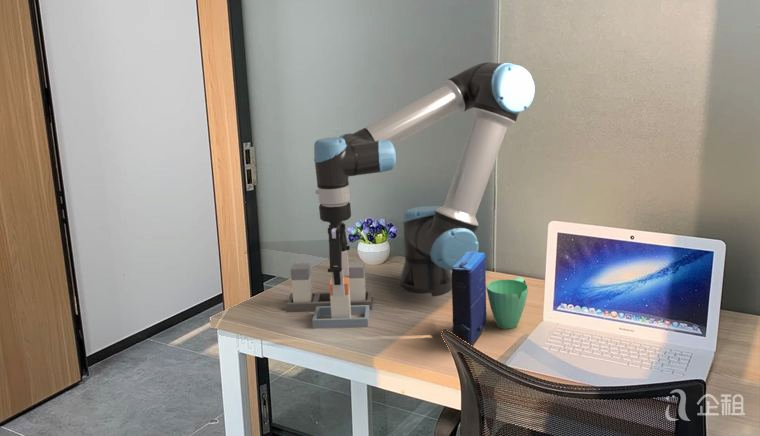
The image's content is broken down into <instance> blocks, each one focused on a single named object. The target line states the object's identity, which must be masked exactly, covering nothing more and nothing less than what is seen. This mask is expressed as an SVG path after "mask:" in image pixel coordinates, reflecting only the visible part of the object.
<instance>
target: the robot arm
mask: <svg viewBox="0 0 760 436" xmlns="http://www.w3.org/2000/svg"><path fill="white" fill-rule="evenodd" d="M535 87H536V85H535V82H534V80H533V76H532V75H531V73H530V72H529V71H528V69H526V68H525V67H523V66H522V65H518V64H514V63H510V62H505V63H502V62H499V63H498V62H488V61H487V62H481V63H478V64H475V65H473V66H471V67H469V68H467V69H464V70H463V71H461V72H459V73H457V74H455V75H454V76H452V77H450V78H448V79H446V80H445V81H444V82H443V85H442V86H441V87H439V88H438V89H436V90H433V91H432V92H430V93H428V94H426V95H424V96H422V97H420V98H419V99H417V100H415V101H413V102H411V103H409V104H406V105H405V106H403V107H401V108H399V109H397V110H396V111H394V112H392V113H390V114H388V115H386V116H384V117H382V118H381V119H379V120H376V121H375V122H373V123H371V124H369V125H367V126H365V127H364V128H361V129H359V130H357V131H355V132H353V133H352V132H351V133H350V132H349V133H343V134H341V135H340V136H338V137H336V136H334V137H324V138H320V139H318V140H317V139H316V140H315V142H314V144H313V150H314V151H313V154H314V156H313V157H314V159H313V161H314V166H315V167H314V168H315V176H316V184H317V186H316V187H317V190H315V192H314V194H315V195H318V204H319V203H320V204H319V206H318V210H319V219H320V220H321V221H322V222H325V223H326V222H327V223H329V225H328V228H327V234H328V248H329V249H328V250H329V268H327V272H328V273H330V275H331V278H332V288H333V297H344V296H345V291H344V279H343V277H346V276H349V267H348V262H349V258H348V251H350V248H351V247H350V245H348V239H347V232H346V224H345V221H347V220H349V219H350V218H351V217H352V209H351V202H350V200H351V195H350V193H351V192H350V182H349V181H350V180H349V177H355V176H362V175H369V174H376V173H378V174H379V173H383V172H388V171H392V170H393V169H394V168H395V166H396V164H397V163H396V162H397V155H396V154H397V153H396V149H395V146H394V145H396V144H398V143H399V142H401V141H404V140H406V139H407V138H410V137H411V136H413V135H415V134H417V133H419V132H421V131H422V130H425V129H426V128H428V127H430V126H432V125H434V124H436V123H438V122H439V121H441V120H444V119H445V118H447V117H448V116H451V115H452V114H455V113H458V114H462V113H464V112H466V111H469V110H471V111H472V113H473V115H474V119H473V121H472V124H471V128H470V130H469V133H468V135H467V139H466V142H465V145H464V147H463V150H462V153H461V156H460V159H459V161H458V164H457V166H456V167H457V168H456V170H455V173H454V174H453V179H452V182H451V184H450V186H449V190H448V192H447V195H446V199H445V200H444V204H443V205H442V206H439V205H428V206H426V205H425V206H419V207H412V208H409V209H407V210H405V211H404V213H403V221H402V224H403V241H404V257H405V258H404V264H403V267H402V271H401V273H400V274H401V275H400V278H399V286H400V288H401V289H403V291H407V292H411V293H416V294H431V296H439V295H442V294H446V293H448V292H450V291H452V267H453V266H454V265H455V264H456V263H457V262H458V261H459V260H460V259H461V258H462V257H463V256H464V254H465V253H466V252H467V251H468V252H474V251H475V252H479V247H480V246H479V245H480V244H479V241H478V238H477V235H476V233H477V230H478V227H479V222H478V220H477V218H476V215H477V212H478V210H479V207H480V204H481V201H482V199H483V196H484V193H485V191H486V187H487V185H488V182H489V180H490V177H491V175H492V171H493V169H494V166H495V163H496V160H497V157H498V154H499V152H500V148H501V146H502V144H503V143H502V142H504V141H503V140H504V137H505V135H506V132H507V130H508V128H509V127H511V126H513V125H515V124H516V122H517V121H518V117H519V114H520V113H522V112H523V111H525V110H527V109H528V108H529V107H530V106H531V104H532V103H533V100H534V97H535V94H536V93H535V92H536V89H535Z"/></svg>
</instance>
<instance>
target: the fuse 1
mask: <svg viewBox="0 0 760 436" xmlns="http://www.w3.org/2000/svg"><path fill="white" fill-rule="evenodd" d="M311 271H312V270H311V263H310V262H307V263H304V262H303V263H293V264H292V265H291V268H290V279H291V280H290V281H291V291H292V293H293V303H296V302H312V301H313V296H312V293H313V285H312V284H313V283H312V272H311Z"/></svg>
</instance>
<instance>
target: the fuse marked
mask: <svg viewBox="0 0 760 436" xmlns="http://www.w3.org/2000/svg"><path fill="white" fill-rule="evenodd" d="M343 279H344V291H345V296H344V297H333V288H332V277H331V278H330V281H329V284H328V285H329V286H328V288H329V292H330V302H331V315H330V316H331V319H332V318H352V315H351V302H350V285H349V277H346V276H343Z"/></svg>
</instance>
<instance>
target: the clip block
mask: <svg viewBox="0 0 760 436" xmlns="http://www.w3.org/2000/svg"><path fill="white" fill-rule="evenodd" d="M312 296H313V301H312V302H296V303H293V293H290V294H289V297H288V300H287V301H286V304H285V306H286V310H285V313H315V310H316V307H318V306H331V302H330V291H321V292H320V291H319V292H318V291H317V292H312ZM350 302H351V306H353V305H369V308H370V311H373V303H374V296H373V291H372V290H366V300H365V301H350Z"/></svg>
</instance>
